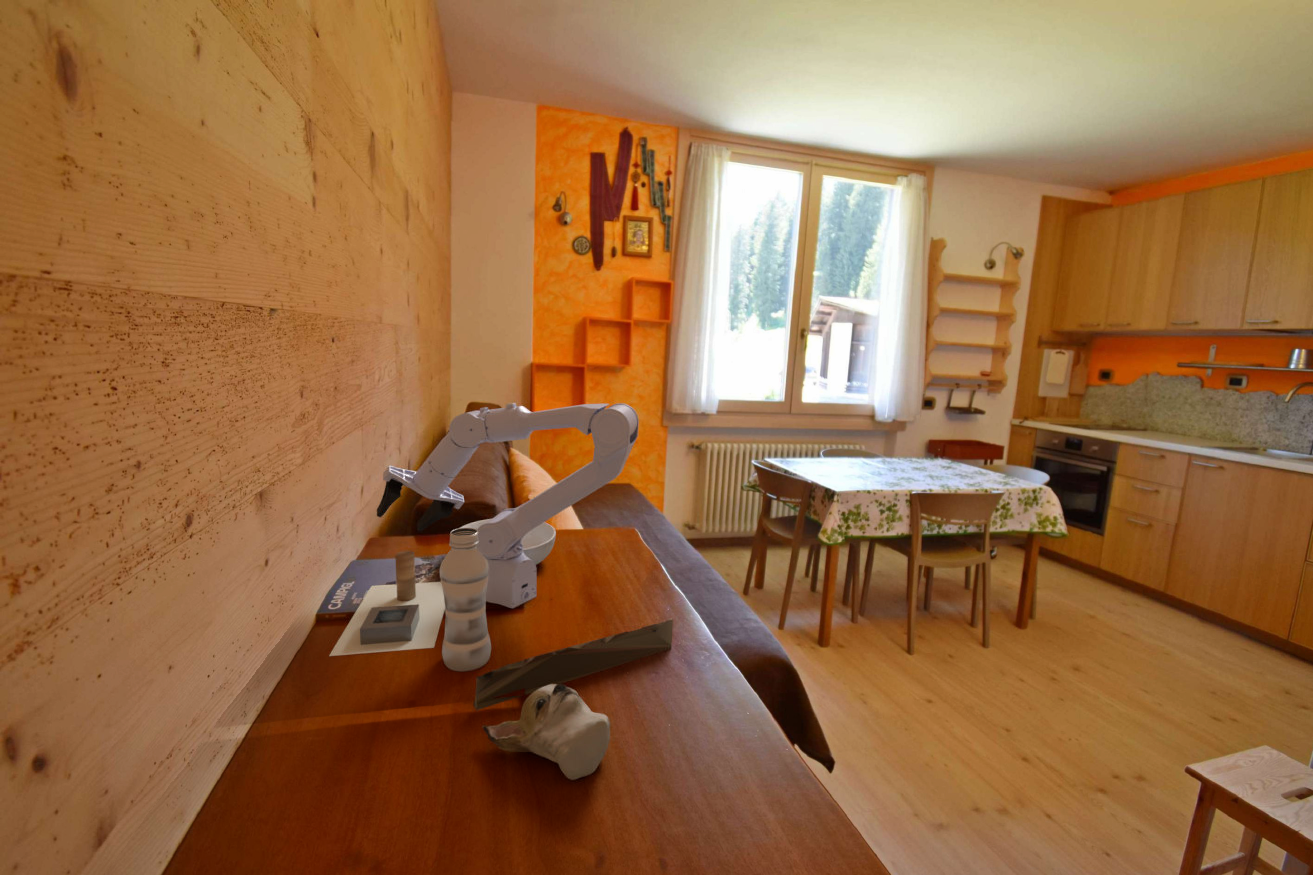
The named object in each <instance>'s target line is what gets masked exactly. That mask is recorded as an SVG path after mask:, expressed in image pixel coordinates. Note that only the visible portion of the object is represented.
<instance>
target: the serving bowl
mask: <svg viewBox="0 0 1313 875" xmlns="http://www.w3.org/2000/svg"><path fill="white" fill-rule="evenodd" d="M491 519H492V518H489V519H488V518H487V519H483V520H476V521H474V522H470V523H467V524H464V525H462V526H461V527H459V528H474V529H478V528H479V527H480V526H481V525H483V524H485V523H487V522H488V521H490V520H491ZM556 534H557V532H556V528H555V527H554V526H552V525H551V524H549V523H547V522H546V521H545V522H543V523H542V524H540V525H538V526H537V527H535V528H534V529H532V530H531V531H529V532H528V533H527V534H526V535H525V536H524V537H523V538H522V545H523V552H524V554H525V555H526V556H527V557H528V558H529V559H531V560H532V561H533V562H534V563H535V565H536V566H537V565H538V564H540V563H541V562H543V561H544V560H545V559H546V558H547V557H548V556H549V555H550V553H551V551H553V547H554V545H555V542H556V536H557V535H556ZM520 540H521V539H520Z"/></svg>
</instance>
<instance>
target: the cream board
mask: <svg viewBox="0 0 1313 875" xmlns="http://www.w3.org/2000/svg"><path fill="white" fill-rule="evenodd" d="M415 588H416V597H415V598H414V599H413V600H410V601H398V600H397V584H381V585H377V584H376V585H371V587H370V588H369V589H368V591H367V593H366V594H365V595H364V597H363V599H362V601H361V602H360V604H359V606H358V608H356V611H355V612H354V614H353V616H352V617H351V619H350V620H349V623H348V624H347V626H346V627H345V629H344V630H343V632H342V633H341V635H340V637H339V638H338V640H337V642H336V643H335V645H334V647H333V649H332V650H331V652H330V654H329V655H328V657H336V656H347V655H349V656H350V655H361V654H373V653H384V652H385V653H387V652H397V651H409V650H410V651H411V650H421V649H423V650H424V649H432V648H433V649H435V645H436V641H437V638H438V634H439V630H440V627H441V623H442V620H443V617H444V614H445V603H444V594H443V589H442V584H441V581H433V582H429V581H428V582H415ZM417 604H419V618H420V619H419V622H418V624H417V627H416V630H415V633H414V635H413V638H412V641H402V642H390V643H377V644H364V645H361V642H360V628H361V626H362V624H363V622H364V621H365V619H366V617H367V615H368V613H369V612H370V610H371V608H372V607H387V606H402V605H417Z"/></svg>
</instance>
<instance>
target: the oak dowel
mask: <svg viewBox="0 0 1313 875" xmlns="http://www.w3.org/2000/svg"><path fill="white" fill-rule="evenodd" d="M394 556H395V580H396V584H397V600H398V601H410V600H413V599H414V598H415V597H416V588H415V583H416V566H415V563H416V561H415V560H416V559H415V552H414V551H412V550H404V551H399V552H396V553H395V554H394Z"/></svg>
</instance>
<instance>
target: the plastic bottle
mask: <svg viewBox="0 0 1313 875" xmlns="http://www.w3.org/2000/svg"><path fill="white" fill-rule="evenodd" d="M448 545H449V547H450V548H451V549H450V550H449V552H448V553H447V554H446V555H445V556H444V558H443V560H442V561H441V563H440V567H439V578H440V582H441V584H442V589H443V594H444V603H445V610H444V614H445V618H444V619H445V622H444V623H445V624H444V637H443V641H442V649H441V656H442V660H443V664H444V665H445V666H446V667H447V668H448V669H449V670H451V671H453V672H454V671H455V672H471V671H475V670H478V669H479V668H482V667H483V666H485V665H486V664H487V663H488V662H489V660H490V658H491V651H492V643H491V638H490V634H489V631H488V621H487V612H486V609H487V608H486V607H487V605H486V604H487V601H486V590H487V582H488V574H489V565H488V562H487V559H486V558H485V557H484V555H483V554H482V552H481V551H480V550H479V549H478V548H477V546H478V545H479V539H478V530H477V529H474V528H460V527H458V528H455V529H453V530H451V531H450V533H449V544H448Z"/></svg>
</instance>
